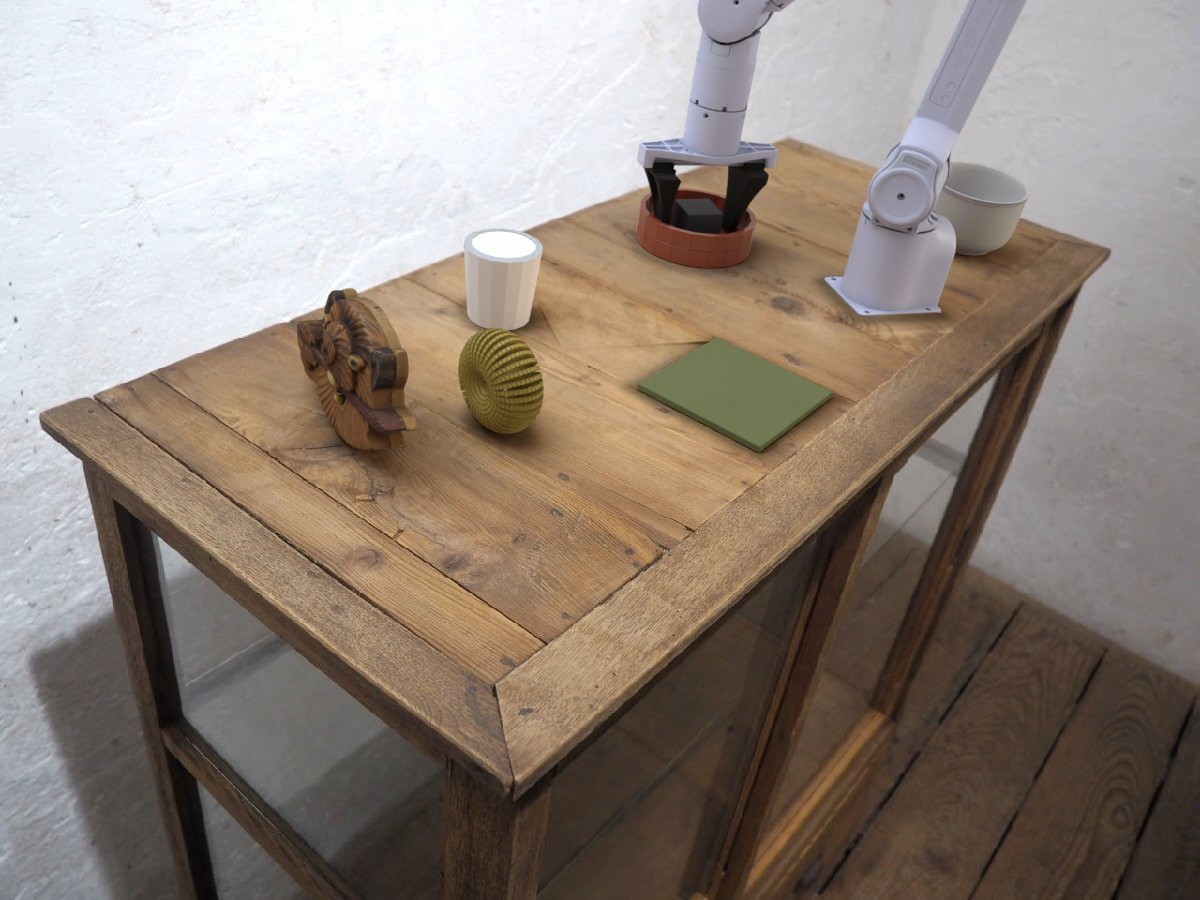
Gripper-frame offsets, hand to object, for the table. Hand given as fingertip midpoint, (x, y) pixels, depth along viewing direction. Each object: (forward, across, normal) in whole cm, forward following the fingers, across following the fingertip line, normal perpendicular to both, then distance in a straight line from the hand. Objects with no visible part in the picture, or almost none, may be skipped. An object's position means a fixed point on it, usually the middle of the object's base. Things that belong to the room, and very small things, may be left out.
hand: (694, 231), depth 111 cm
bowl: (+2, 0, 0) cm, 2 cm away
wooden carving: (+2, +39, +29) cm, 48 cm away
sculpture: (+2, +28, +30) cm, 41 cm away
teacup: (+2, -32, 0) cm, 32 cm away
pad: (+2, +7, +28) cm, 29 cm away
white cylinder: (+2, +24, +13) cm, 27 cm away
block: (+1, 0, 0) cm, 1 cm away
